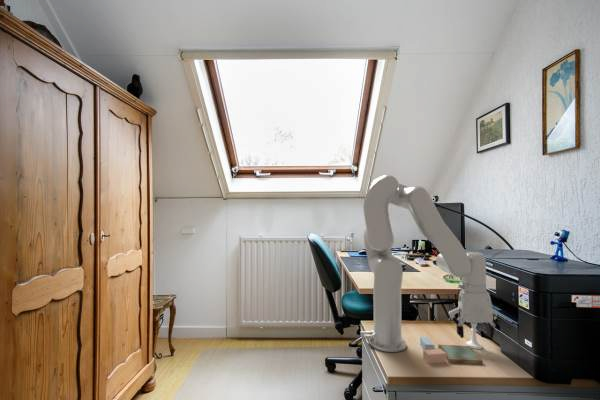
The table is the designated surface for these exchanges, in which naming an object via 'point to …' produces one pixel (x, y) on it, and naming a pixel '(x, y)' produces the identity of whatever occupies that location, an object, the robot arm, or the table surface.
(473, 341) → the chess piece
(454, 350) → the green-topped square tray
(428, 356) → the terracotta brick
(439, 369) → the table surface
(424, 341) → the slate-blue brick
